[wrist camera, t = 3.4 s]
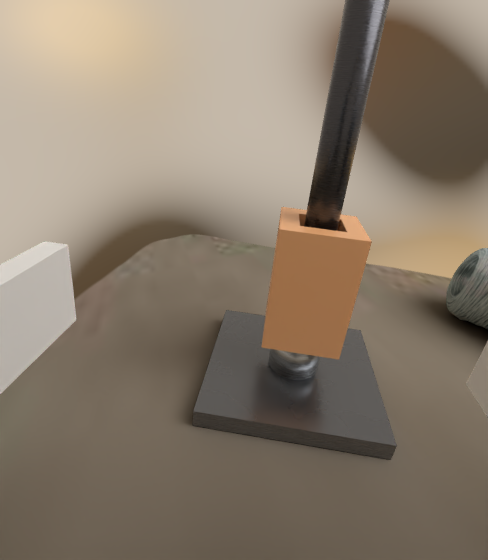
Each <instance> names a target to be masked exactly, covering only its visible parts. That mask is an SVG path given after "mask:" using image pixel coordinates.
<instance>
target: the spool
mask: <svg viewBox="0 0 488 560" xmlns="http://www.w3.org/2000/svg"><path fill="white" fill-rule="evenodd" d="M446 305H447V308H448V310H449V311H450V312H451V313H452V314H453V315H455V316H456V317H458V318H459V319H460V320H466V321H469V322H471V323H473V324H475V325H478V326H482V327H484V328H486V329H487V330H488V248H482V249H479V250H477V251H475V252H474V253H472V254H471V255H470V256H469V257H467V258H466V259H465V261H464V262H463V263H462V264H461V265H460V266H459V267H458V269H457V270H456V272H455V273H454V275H453V277H452V280H451V282H450V284H449V286H448V289H447V296H446Z"/></svg>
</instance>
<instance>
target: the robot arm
mask: <svg viewBox="0 0 488 560" xmlns="http://www.w3.org/2000/svg"><path fill="white" fill-rule="evenodd" d="M75 321H76V312H75V302H74V293H73V284H72V276H71V266H70V257H69V248H68V245H66V244H59V243H52V242H46V241H44V242H42V243H40V244H38V245H36V246H35V247H33V248H31V249H29V250H27V251H25V252H23V253H22V254H19V255H18V256H16V257H14V258H12V259H10V260H8V261H6V262H4V263H2V264H0V394H1V393H2V392H3V391H4V390H5V389H6V388H7V387H8V386H9V385H10V384H11V383H12V382H13V381H14V380H15V379H16V378H17V377H18V376H19V375H20V374H21V373H22V372H23V371H24V370H25V369H26V368H28V367H29V366H30V365H31V364H32V363H33V362H34V361H35V360H36V359H37V358H38V357H39V356H40V355H41V354H42V353H43V352H44V351H45V350H46V349H47V348H48V347H49V346H50V345H51V344H52V343H53V342H54V341H55V340H56V339H57V338H58V337H59V336H60V335H61V334H62V333H63V332H64V331H65V330H66V329H68V328H69V327H70V326H71V325H72V324H73V323H74V322H75ZM466 385H467V387H468V388H469V390H470V391H471V393H472V394H473V396H474V397H475V399H476V400H477V402H478V403H479V405H480V407H481V408H482V410H483V411H484V413H485V414H486V416H487V417H488V341H487V343H486V345H485V347H484V349H483V351H482V353H481V355H480V357H479V359H478V361H477V363H476V365H475V367H474V369H473V371H472V373H471V375H470V377H469V379H468V381H467V383H466Z"/></svg>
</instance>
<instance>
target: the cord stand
mask: <svg viewBox="0 0 488 560" xmlns="http://www.w3.org/2000/svg"><path fill="white" fill-rule="evenodd" d="M388 5H389V0H345V5H344V11H343V17H342V22H341V27H340V33H339V38H338V44H337V49H336V54H335V60H334V65H333V71H332V77H331V82H330V87H329V93H328V98H327V104H326V109H325V115H324V120H323V126H322V131H321V136H320V142H319V147H318V153H317V158H316V164H315V169H314V175H313V180H312V185H311V191H310V197H309V202H308V207H307V213H306V218H305V224H304V227H312V228H319V229H327V230H334V231H337V229H338V225H339V220H340V216H341V211H342V207H343V202H344V198H345V194H346V189H347V185H348V181H349V176H350V172H351V167H352V163H353V159H354V154H355V150H356V145H357V141H358V137H359V132H360V128H361V123H362V118H363V115H364V110H365V106H366V101H367V97H368V92H369V88H370V84H371V80H372V75H373V71H374V66H375V62H376V58H377V53H378V49H379V44H380V40H381V36H382V31H383V27H384V22H385V18H386V13H387V9H388ZM264 323H265V316H262V315H256V314H249V313H243V312H236V311H229V310H226V312H225V315H224V319H223V322H222V325H221V328H220V331H219V334H218V337H217V340H216V343H215V346H214V349H213V352H212V355H211V358H210V361H209V365H208V368H207V371H206V374H205V377H204V380H203V383H202V386H201V389H200V392H199V395H198V398H197V401H196V404H195V408H194V411H193V426H199V427H205V428H210V429H216V430H222V431H228V432H233V433H239V434H245V435H251V436H257V437H262V438H268V439H274V440H280V441H285V442H291V443H297V444H303V445H309V446H314V447H320V448H326V449H332V450H337V451H343V452H349V453H355V454H361V455H366V456H372V457H378V458H384V459H389V460H391V458H392V456H393V453H394V451H395V449H396V446H397V445H396V442H395V439H394V436H393V433H392V429H391V426H390V423H389V420H388V417H387V413H386V410H385V407H384V404H383V401H382V397H381V394H380V391H379V388H378V385H377V382H376V378H375V375H374V372H373V369H372V366H371V362H370V359H369V356H368V353H367V350H366V346H365V343H364V340H363V337H362V334H361V330H355V329H347V333H346V337H345V340H344V344H343V347H342V351H341V355H340V358H339V360H338V359H332V358H325V357H319V356H313V355H306V354H300V353H293V352H287V351H281V350H274V349H268V348H262V347H261V346H262V339H263V331H264Z"/></svg>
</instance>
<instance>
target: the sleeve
mask: <svg viewBox="0 0 488 560" xmlns="http://www.w3.org/2000/svg"><path fill="white" fill-rule="evenodd" d="M306 213H307V210H301V209H294V208H286V207H282V208H281V214H280V221H279V228H278V234H277V241H276V248H275V254H274V261H273V267H272V274H271V281H270V287H269V294H268V301H267V307H266V315H265V323H264V331H263V339H262V346H261V347H262V348H268V349H274V350H281V351H287V352H293V353H300V354H306V355H313V356H319V357H325V358H332V359H338V360H339V358H340V355H341V351H342V347H343V344H344V340H345V337H346V333H347V329H348V326H349V322H350V318H351V315H352V311H353V308H354V304H355V300H356V297H357V293H358V290H359V286H360V282H361V279H362V275H363V272H364V268H365V264H366V260H367V257H368V253H369V250H370V246H371V243H372V242H371V240H370V238H369V237H368V235H367V233H366V232H365V230H364V228H363V227H362V225H361V223H360V222H359V220H358V218H357V217H355V216H347V215H341V216H340V220H339V225H338V229H337V231H334V230H327V229H319V228H312V227H304V224H305V218H306Z"/></svg>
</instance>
